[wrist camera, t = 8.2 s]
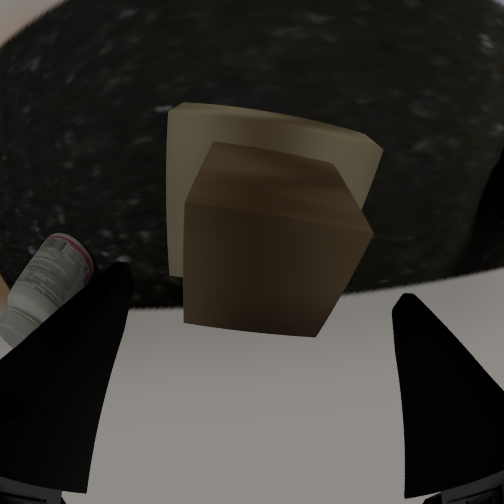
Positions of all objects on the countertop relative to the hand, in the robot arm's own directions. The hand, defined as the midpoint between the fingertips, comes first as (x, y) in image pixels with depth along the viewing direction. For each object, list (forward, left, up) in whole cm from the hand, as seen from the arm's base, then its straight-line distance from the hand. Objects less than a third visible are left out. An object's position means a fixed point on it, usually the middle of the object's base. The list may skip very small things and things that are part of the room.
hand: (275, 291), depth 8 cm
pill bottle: (+14, +7, -8) cm, 18 cm away
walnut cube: (0, 0, -5) cm, 5 cm away
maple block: (0, +1, -8) cm, 8 cm away
